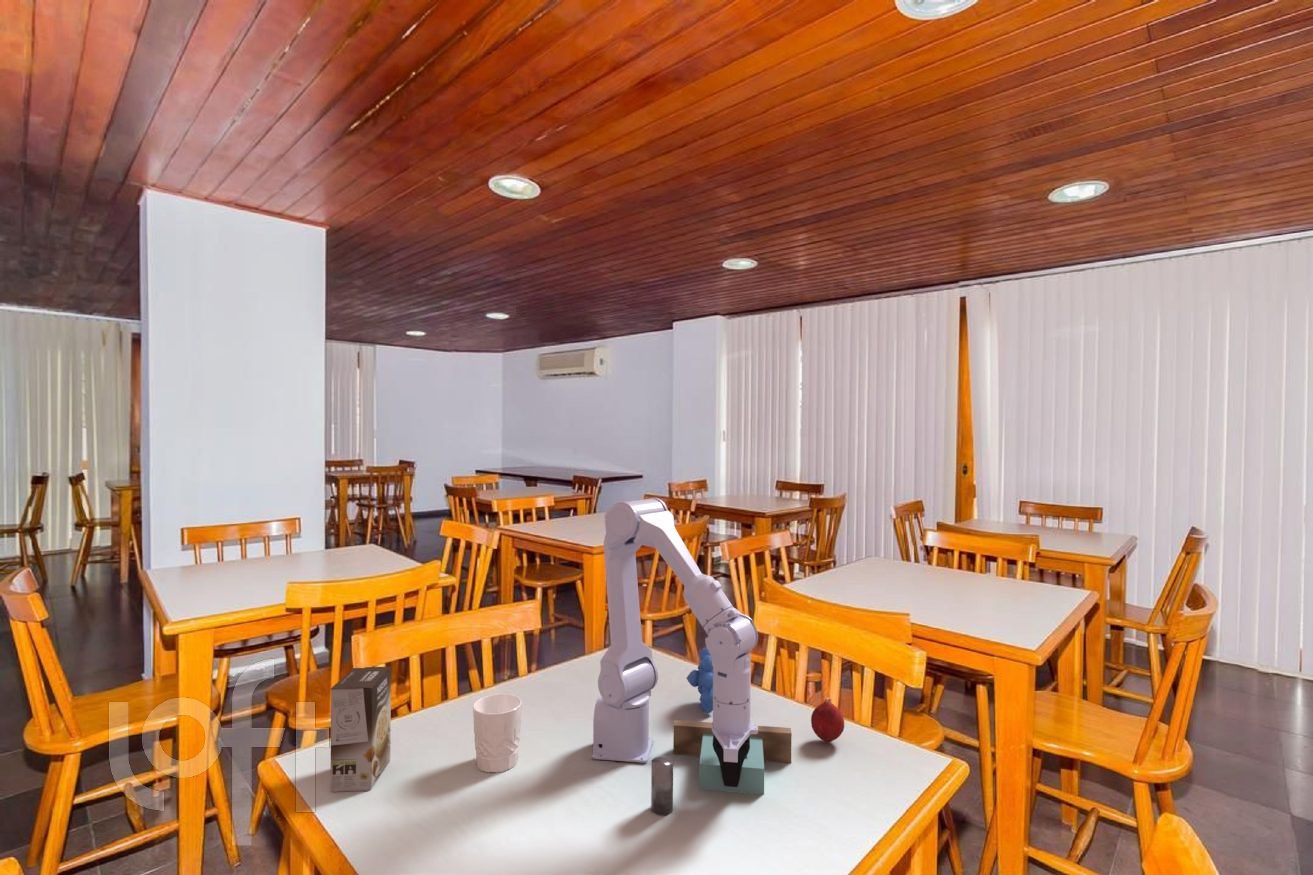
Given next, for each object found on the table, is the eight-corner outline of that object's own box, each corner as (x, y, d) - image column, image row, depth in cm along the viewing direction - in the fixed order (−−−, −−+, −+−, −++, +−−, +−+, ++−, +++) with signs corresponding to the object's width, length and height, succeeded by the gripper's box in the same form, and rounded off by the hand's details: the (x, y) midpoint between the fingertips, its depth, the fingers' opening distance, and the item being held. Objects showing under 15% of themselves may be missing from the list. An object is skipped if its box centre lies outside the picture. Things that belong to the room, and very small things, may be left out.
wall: (673, 753, 110) (673, 725, 110) (674, 748, 112) (674, 719, 112) (791, 762, 107) (791, 733, 107) (790, 756, 109) (790, 727, 109)
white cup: (530, 762, 107) (530, 703, 107) (489, 780, 101) (489, 718, 101) (504, 745, 112) (504, 689, 112) (463, 762, 107) (463, 703, 106)
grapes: (685, 695, 134) (686, 638, 134) (718, 695, 134) (718, 639, 134) (686, 720, 123) (686, 658, 122) (721, 721, 122) (722, 659, 122)
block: (699, 789, 99) (699, 763, 99) (703, 756, 109) (703, 733, 109) (764, 794, 98) (764, 768, 98) (761, 760, 108) (762, 737, 108)
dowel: (649, 814, 93) (650, 766, 93) (652, 801, 96) (653, 755, 96) (671, 816, 92) (671, 768, 92) (674, 803, 95) (674, 757, 95)
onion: (845, 752, 111) (846, 706, 111) (811, 748, 112) (812, 703, 112) (842, 736, 117) (843, 693, 116) (810, 733, 118) (810, 690, 118)
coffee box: (372, 791, 98) (372, 687, 98) (329, 792, 98) (329, 688, 97) (391, 760, 107) (391, 665, 107) (352, 761, 107) (352, 666, 106)
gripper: (759, 719, 90) (758, 815, 90) (756, 679, 104) (756, 762, 104) (709, 716, 91) (708, 811, 91) (713, 677, 105) (713, 758, 105)
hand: (731, 784), depth 98 cm, fingers closed
